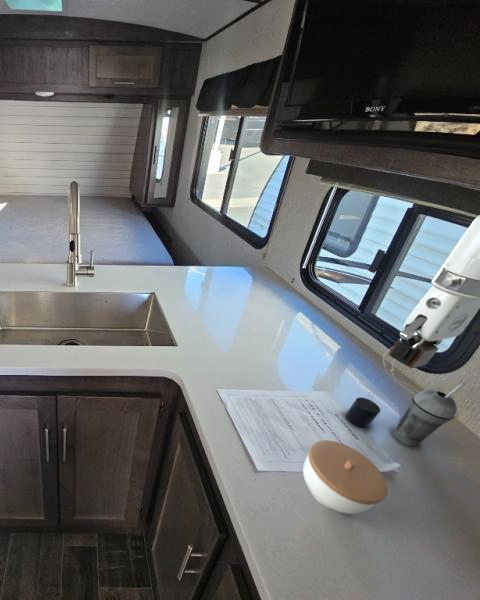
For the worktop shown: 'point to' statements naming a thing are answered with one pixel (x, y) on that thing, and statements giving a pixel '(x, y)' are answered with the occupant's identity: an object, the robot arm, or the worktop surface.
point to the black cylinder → (362, 412)
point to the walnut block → (420, 353)
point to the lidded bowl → (343, 478)
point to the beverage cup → (425, 415)
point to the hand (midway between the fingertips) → (407, 357)
